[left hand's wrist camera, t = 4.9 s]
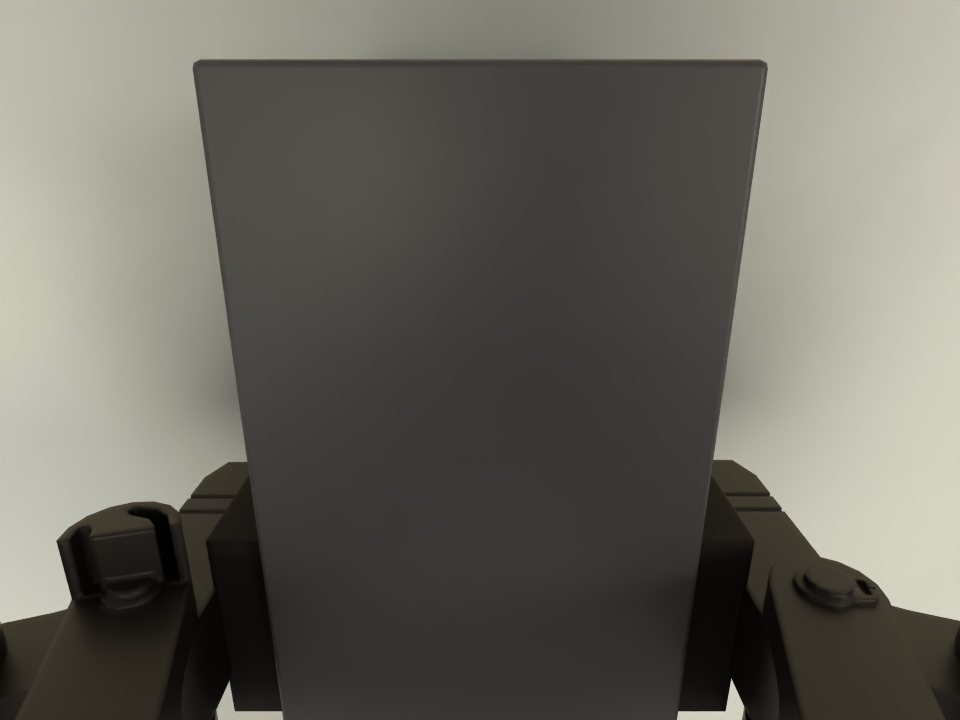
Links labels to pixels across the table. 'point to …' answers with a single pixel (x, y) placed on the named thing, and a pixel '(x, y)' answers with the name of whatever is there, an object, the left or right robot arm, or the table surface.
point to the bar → (480, 369)
